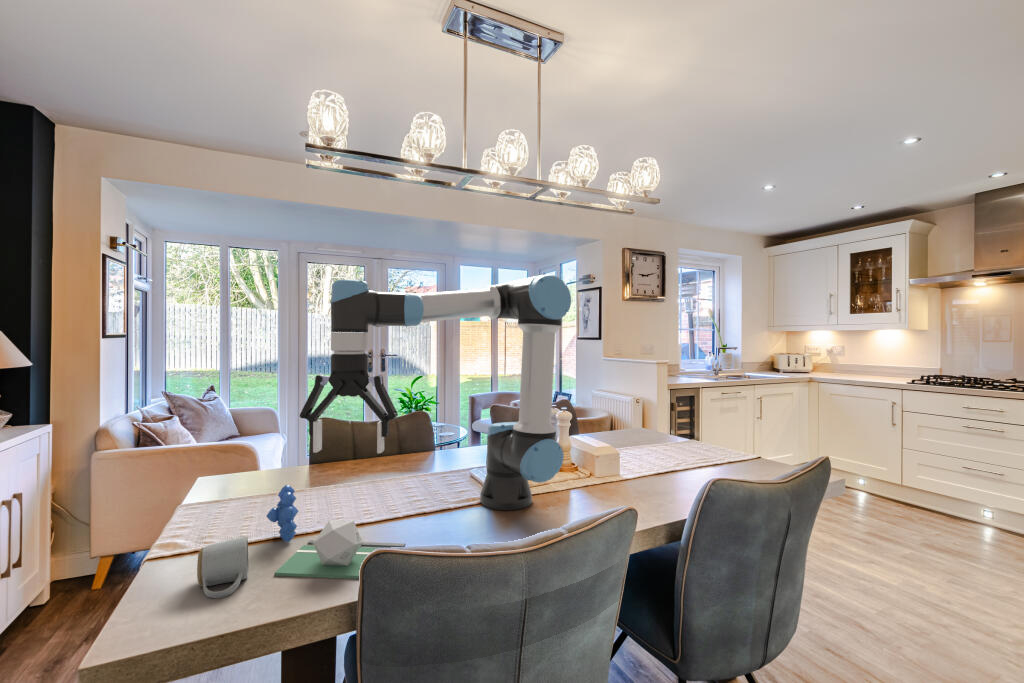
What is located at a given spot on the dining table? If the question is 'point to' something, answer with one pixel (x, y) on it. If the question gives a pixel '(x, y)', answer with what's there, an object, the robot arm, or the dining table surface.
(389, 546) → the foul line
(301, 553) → the felt mat
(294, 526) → the grapes
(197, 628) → the dining table surface
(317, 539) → the die
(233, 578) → the ceramic mug
